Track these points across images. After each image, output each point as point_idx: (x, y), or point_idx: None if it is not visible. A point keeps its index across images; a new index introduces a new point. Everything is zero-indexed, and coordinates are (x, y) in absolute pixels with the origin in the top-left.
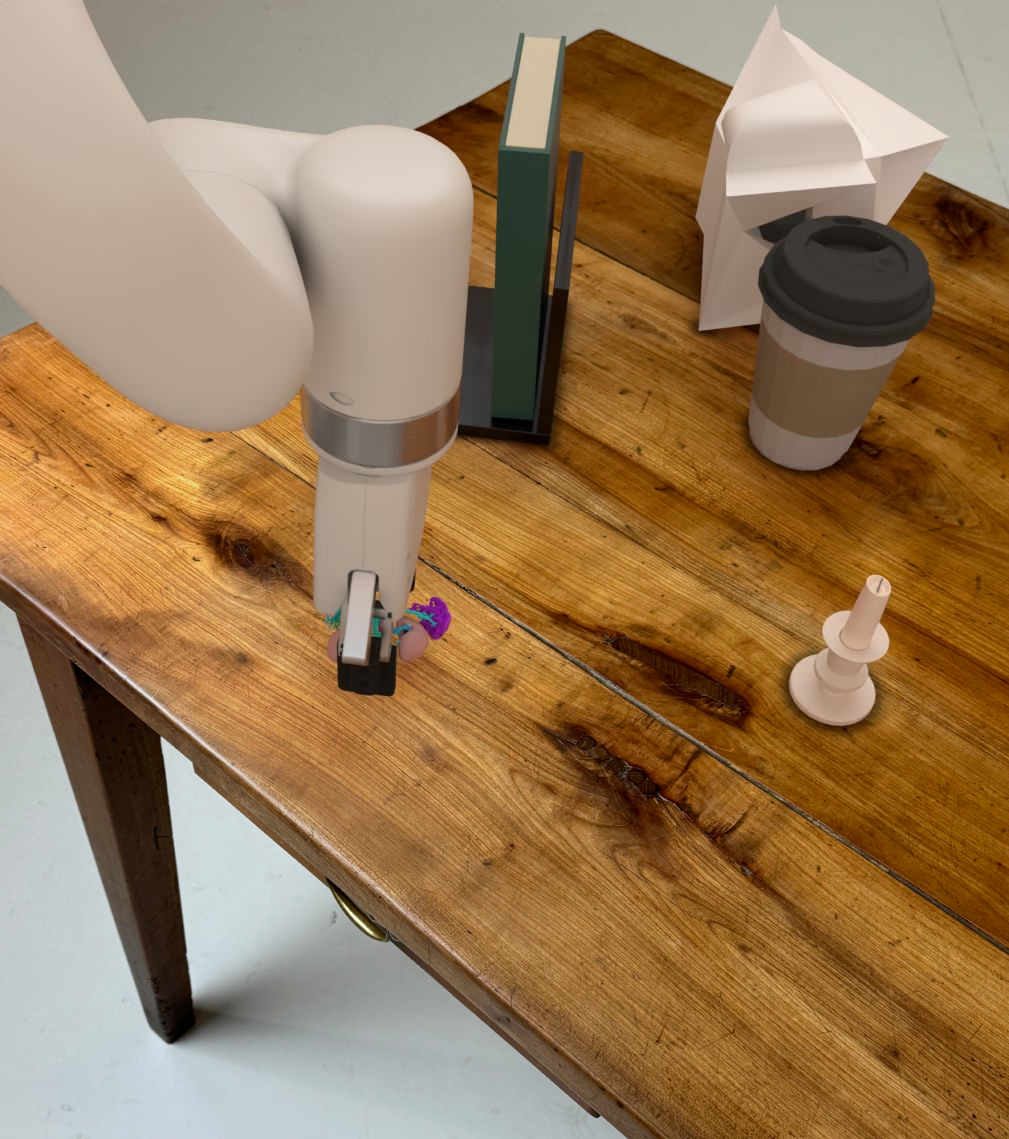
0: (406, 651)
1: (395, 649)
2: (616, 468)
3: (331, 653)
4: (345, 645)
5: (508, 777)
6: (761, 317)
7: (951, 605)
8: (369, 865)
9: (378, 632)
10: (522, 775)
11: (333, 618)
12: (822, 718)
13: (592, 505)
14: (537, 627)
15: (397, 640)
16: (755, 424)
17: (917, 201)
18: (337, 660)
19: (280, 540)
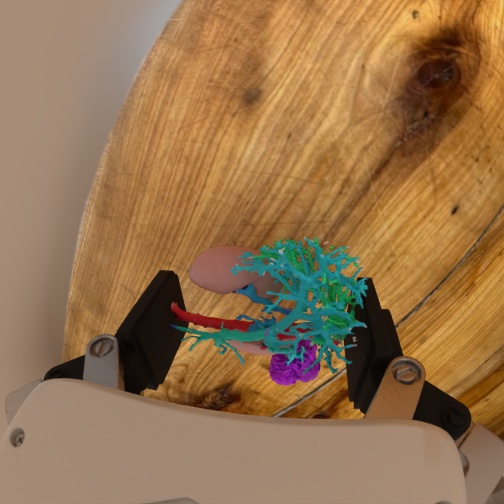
0: (230, 344)
1: (150, 388)
2: (478, 395)
3: (194, 265)
4: (8, 414)
5: (179, 362)
6: (491, 494)
7: None
8: (77, 277)
9: (218, 341)
10: (185, 370)
11: (258, 263)
12: None
13: (454, 392)
14: (337, 382)
15: (221, 353)
16: None
17: None
18: (133, 307)
19: (465, 122)
